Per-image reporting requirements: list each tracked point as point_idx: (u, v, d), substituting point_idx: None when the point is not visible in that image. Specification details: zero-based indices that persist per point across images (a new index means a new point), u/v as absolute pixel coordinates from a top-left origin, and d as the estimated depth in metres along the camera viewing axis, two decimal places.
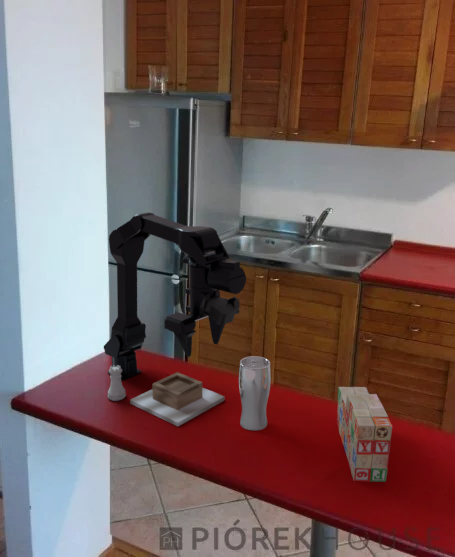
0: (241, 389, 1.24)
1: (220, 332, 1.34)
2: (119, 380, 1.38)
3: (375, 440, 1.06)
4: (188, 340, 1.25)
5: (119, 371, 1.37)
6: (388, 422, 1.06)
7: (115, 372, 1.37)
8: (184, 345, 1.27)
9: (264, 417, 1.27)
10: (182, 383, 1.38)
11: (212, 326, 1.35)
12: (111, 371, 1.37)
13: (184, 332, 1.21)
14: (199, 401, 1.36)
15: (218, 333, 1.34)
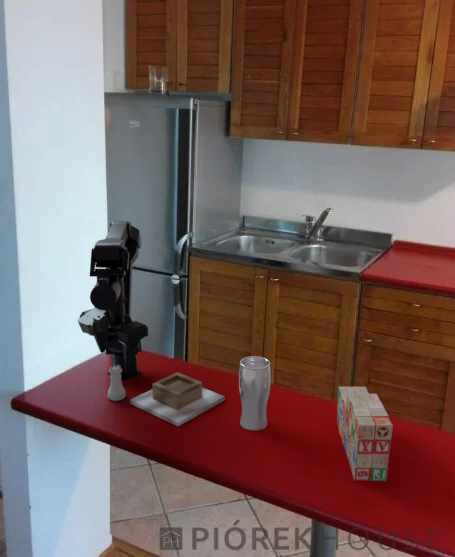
0: (241, 389, 1.24)
1: (124, 352, 1.33)
2: (119, 380, 1.38)
3: (376, 440, 1.06)
4: (93, 335, 1.39)
5: (119, 371, 1.37)
6: (389, 422, 1.07)
7: (115, 372, 1.37)
8: None
9: (264, 417, 1.27)
10: (182, 383, 1.38)
11: None
12: (111, 371, 1.37)
13: None
14: (199, 401, 1.36)
15: None
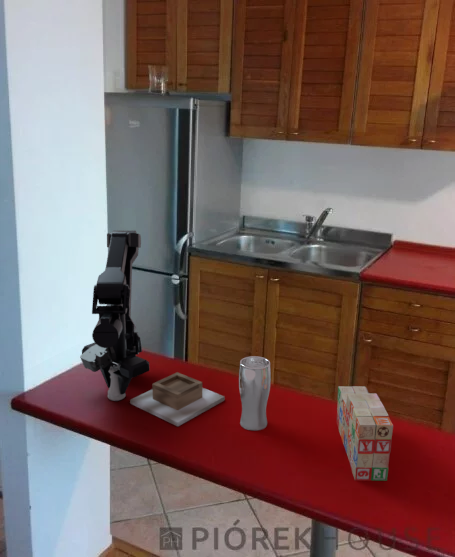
0: (241, 389, 1.24)
1: (119, 384, 1.36)
2: None
3: (376, 439, 1.06)
4: (101, 371, 1.40)
5: None
6: (389, 422, 1.07)
7: None
8: None
9: (264, 417, 1.27)
10: (182, 383, 1.38)
11: None
12: (111, 371, 1.37)
13: None
14: (199, 401, 1.36)
15: None
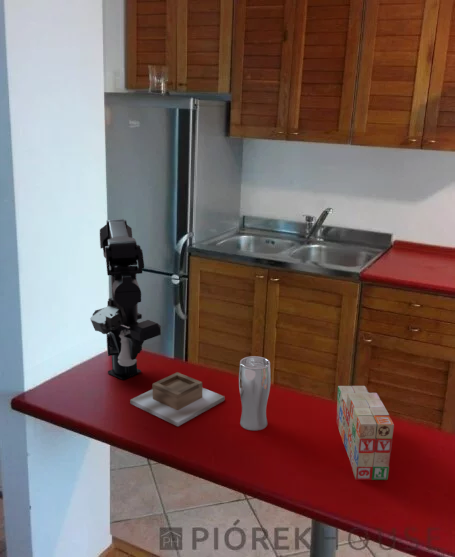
0: (241, 389, 1.24)
1: (130, 349, 1.33)
2: None
3: (377, 439, 1.07)
4: (112, 336, 1.37)
5: None
6: (390, 421, 1.07)
7: None
8: None
9: (264, 417, 1.27)
10: (182, 383, 1.38)
11: None
12: (122, 335, 1.34)
13: None
14: (199, 401, 1.36)
15: None
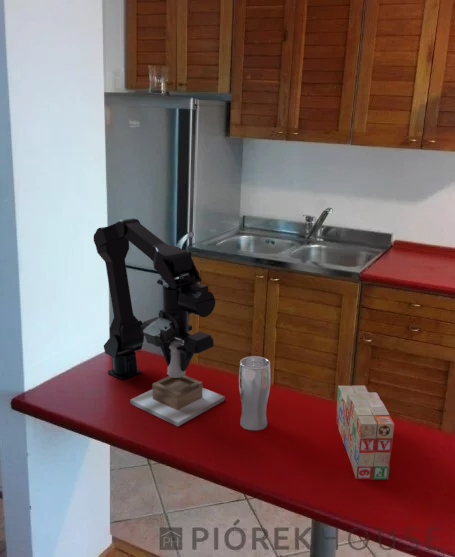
0: (241, 389, 1.24)
1: (181, 360, 1.32)
2: None
3: (377, 438, 1.07)
4: (161, 348, 1.36)
5: None
6: (390, 420, 1.07)
7: None
8: None
9: (264, 417, 1.27)
10: (182, 383, 1.38)
11: None
12: (172, 347, 1.33)
13: (141, 332, 1.37)
14: (199, 401, 1.36)
15: None
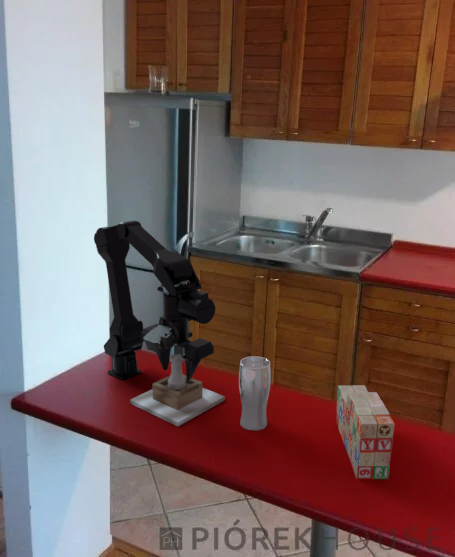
0: (241, 389, 1.24)
1: (187, 369, 1.32)
2: (180, 369, 1.35)
3: (378, 438, 1.07)
4: (157, 352, 1.37)
5: (181, 360, 1.34)
6: (391, 420, 1.07)
7: (177, 361, 1.34)
8: None
9: (264, 417, 1.27)
10: None
11: None
12: (173, 360, 1.34)
13: (141, 338, 1.37)
14: (199, 401, 1.36)
15: None
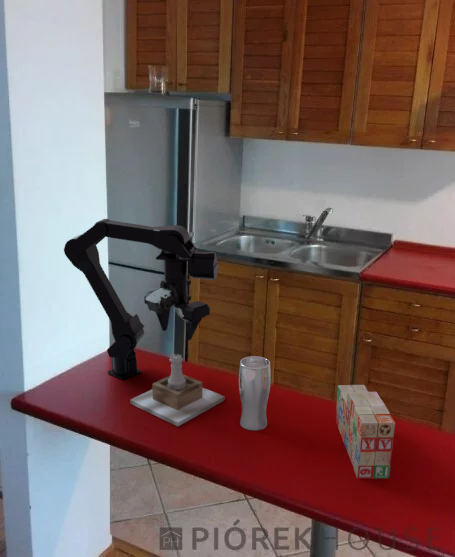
0: (241, 389, 1.24)
1: (187, 330, 1.43)
2: (180, 369, 1.35)
3: (378, 438, 1.07)
4: (157, 314, 1.49)
5: (181, 360, 1.34)
6: (391, 419, 1.07)
7: (177, 361, 1.33)
8: None
9: (264, 417, 1.27)
10: None
11: None
12: (172, 360, 1.34)
13: None
14: (199, 401, 1.36)
15: None
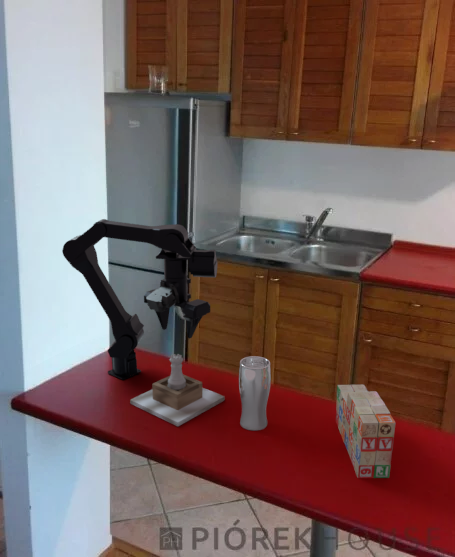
0: (241, 389, 1.24)
1: (187, 328, 1.43)
2: (180, 369, 1.35)
3: (379, 437, 1.07)
4: (156, 313, 1.50)
5: (181, 360, 1.34)
6: (391, 419, 1.08)
7: (177, 361, 1.34)
8: None
9: (264, 417, 1.27)
10: None
11: None
12: (173, 360, 1.34)
13: (144, 301, 1.49)
14: (199, 401, 1.36)
15: None
